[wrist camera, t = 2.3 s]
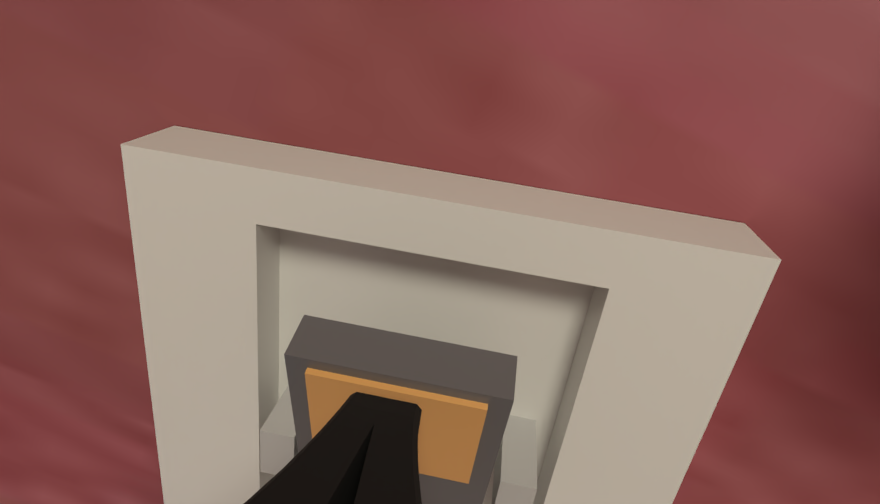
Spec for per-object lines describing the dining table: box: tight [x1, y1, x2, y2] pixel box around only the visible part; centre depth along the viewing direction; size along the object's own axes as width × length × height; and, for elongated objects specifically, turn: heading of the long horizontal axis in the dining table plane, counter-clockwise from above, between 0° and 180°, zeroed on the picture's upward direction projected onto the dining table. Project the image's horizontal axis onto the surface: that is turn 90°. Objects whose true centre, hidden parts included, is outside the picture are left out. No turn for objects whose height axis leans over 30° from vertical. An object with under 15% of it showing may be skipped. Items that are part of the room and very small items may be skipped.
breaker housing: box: [121, 126, 781, 504], centre depth 17 cm, size 16×16×4 cm
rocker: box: [284, 315, 518, 504], centre depth 16 cm, size 11×5×1 cm, turn 172°
